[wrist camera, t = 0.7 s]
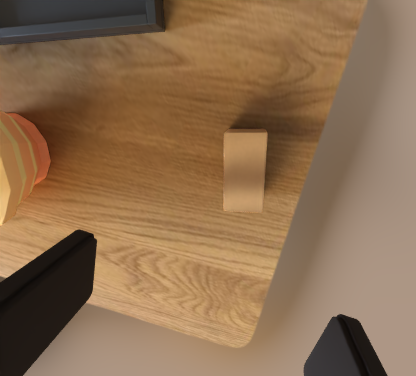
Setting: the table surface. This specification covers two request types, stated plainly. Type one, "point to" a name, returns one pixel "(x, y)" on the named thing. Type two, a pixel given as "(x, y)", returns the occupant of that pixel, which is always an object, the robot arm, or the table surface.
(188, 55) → the table surface
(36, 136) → the potted cactus
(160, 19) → the tray
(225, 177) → the wooden block
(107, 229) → the table surface
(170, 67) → the table surface
